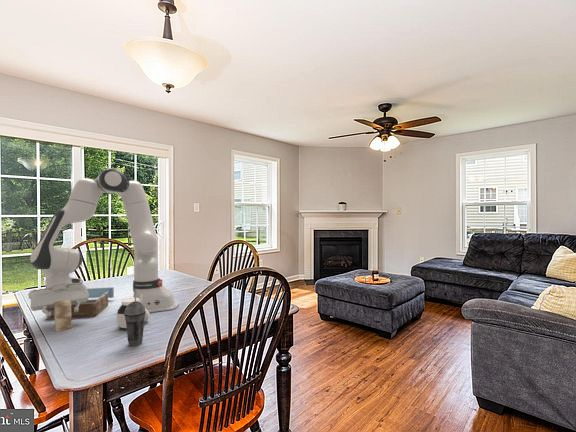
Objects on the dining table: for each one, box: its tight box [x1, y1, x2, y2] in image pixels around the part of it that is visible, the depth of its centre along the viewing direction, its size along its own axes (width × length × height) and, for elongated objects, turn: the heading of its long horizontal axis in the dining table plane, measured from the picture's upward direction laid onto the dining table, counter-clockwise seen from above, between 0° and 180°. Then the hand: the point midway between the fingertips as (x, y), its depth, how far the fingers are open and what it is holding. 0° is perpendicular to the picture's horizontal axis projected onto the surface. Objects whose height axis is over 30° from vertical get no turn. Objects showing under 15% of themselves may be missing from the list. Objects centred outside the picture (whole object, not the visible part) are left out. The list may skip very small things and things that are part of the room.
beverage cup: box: [124, 289, 146, 348], centre depth 117 cm, size 7×7×20 cm
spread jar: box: [116, 297, 151, 331], centre depth 136 cm, size 12×11×12 cm
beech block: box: [54, 300, 73, 332], centre depth 133 cm, size 5×5×11 cm
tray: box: [80, 286, 115, 304], centre depth 163 cm, size 19×20×5 cm
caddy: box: [45, 294, 109, 320], centre depth 153 cm, size 17×20×6 cm
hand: (63, 314), depth 132 cm, fingers open, 8 cm apart
